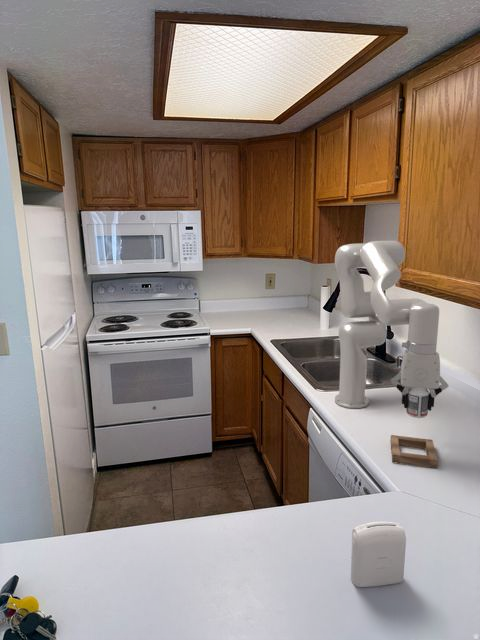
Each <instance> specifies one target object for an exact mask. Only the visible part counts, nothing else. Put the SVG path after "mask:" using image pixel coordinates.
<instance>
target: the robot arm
mask: <svg viewBox="0 0 480 640" xmlns="http://www.w3.org/2000/svg"><path fill="white" fill-rule="evenodd" d="M405 259H406V250H405V247H404V245H403V244H402V243H401V242H400V241H398V240H374V241H373V240H371V241H368V242H365V243H349V244H344V245H341V246H340V247H338V248H337V250H336V252H335V255H334V266H335V270H336V273H337V277H338V280H339V290H340V291H339V292H340V294H339V295H340V307H341V312H342V313H341V314H342V315H343V316H344V317H345V318H347V319H358V318H361V319H362V318H368V320H357V321H350V322H345V323H343V324H342V325H341V326H339V330H338V341H339V350H340V351H339V352H340V359H339V360H340V361H339V384H338V385H339V389H338V394H336V396H334V402H335V403H336V404H337V405H338V406H340V407H343V408H346V409H361V408H365V407H367V406H368V405H369V403H370V402H369V398H368V397H367V396H365V395H366V379H367V378H366V377H367V357H366V356H367V355H365V353H364V352H363V350H362V348H365V347H366V348H367V347H374V346H381V345H383V344H384V343H385V342H386V341H387V336H388V335H387V333H388V331H387V329H388V327H387V326H389V327H390V326H391V327H393V326H403V325H408V330H407V331H408V333H407V334H408V335H407V341H406V342H402V343H401V348H404V349H405V350H404V352H403V357H402V359H401V360H402V361H401V367H400V371H399V372H398V373H397V374H396V375H394V376H393V377H392V378H390V382H391V384H392V385H393V386H394V387H395V388H396V389H397V390H398V391H399V392H400V393H401V405H403V407H404V409H407V404H408V389H409V388H422V389H427V390H428V391H429V401H428V412H429V411H432V408H434V406H435V398H436V397H437V396H438V395H439V394H440V393H442V392H443V391H444V390H446V389H447V388H449V384H448V382H447V381H446V380H445V379H444V378H443V377H442V375H441V358H440V354H439V353H438V352H437V347H438V346H437V344H438V336H439V335H438V334H439V322H440V321H439V320H440V308H439V306H438V305H436V304H433V303H429V302H428V303H427V301H425V300H423V299H420V298H399V299H396V298H395V299H389V298H388V296H387V294H386V292H385V291H386V290H389V289H390V288H392V287H394V286H395V285H396V284H397V283H398V282H399V281H400V279H401V276H402V271H401V269H400V268H399V267H398V266H399V265H402V264H403V262H404V261H405ZM357 268H365V269H366V270H367V272H368V274H369V276H370V278H371V280H372V281H373V284H372V287H371V290H370V291H366V290H365V286H364V285H365V284H364V278H363V277H362V275H361V273H360V272H359V270H357ZM399 380H400V382H398V381H399Z"/></svg>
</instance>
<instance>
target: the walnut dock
mask: <svg viewBox="0 0 480 640" xmlns="http://www.w3.org/2000/svg"><path fill="white" fill-rule="evenodd" d="M389 441H390V442H389V443H390V450H391V454H392V455H391V462H392V463H393V462H397V463H396V464H400V463H402V464H401V465H407V464H408V465H409V466H415V467H424V468H431V469H438V466H439V465H438V464H439V459H438V456H437V452H436V447H435V444H434V442H433V439H430V438H429V439H428V438H420V437H411V436H403V435H394V434H391V435H390V440H389ZM400 447H401V448H409V449H417V450H424V451H425V453H426V455H425V454H417V453H409V452H403V451H402V452H400Z"/></svg>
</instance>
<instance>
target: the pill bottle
mask: <svg viewBox="0 0 480 640" xmlns="http://www.w3.org/2000/svg"><path fill="white" fill-rule="evenodd" d="M429 393H430V390H429V389H422V388H410V387H409V389H408V391H407V394H408V404H407V408H406V414H407V415H408V416H409V417H412V418H416V419H424V418H426V417H428V414H429V410H428V401H429Z"/></svg>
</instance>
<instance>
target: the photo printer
mask: <svg viewBox="0 0 480 640" xmlns="http://www.w3.org/2000/svg"><path fill="white" fill-rule="evenodd" d="M406 545H407V537H406V531H405V529H404V528H403V526H402V524H400V523H398V522H392V521H373V522H368V523H364V524H360V525H358V526H356V527H354V528H353V529H352V533H351V557H350V558H351V560H350V580H351V582H352V584H354V586H356V587H357V588H369V587H370V588H371V587H379V586H380V587H381V586H389V585H394V584H399V583H402V582H403V581H404V575H405V574H404V573H405V562H406V561H405V560H406V547H407V546H406Z"/></svg>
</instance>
